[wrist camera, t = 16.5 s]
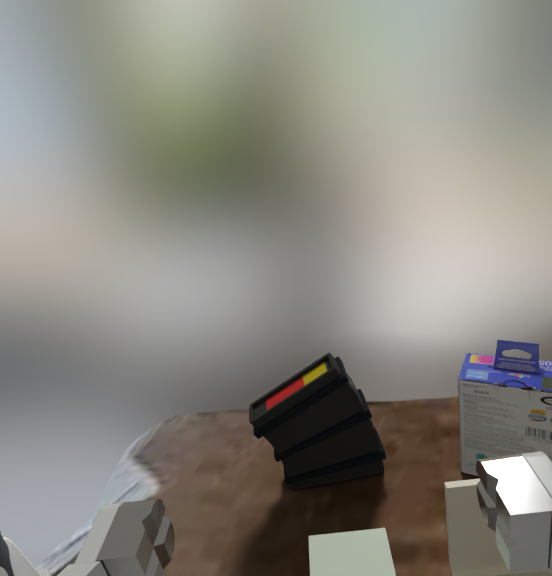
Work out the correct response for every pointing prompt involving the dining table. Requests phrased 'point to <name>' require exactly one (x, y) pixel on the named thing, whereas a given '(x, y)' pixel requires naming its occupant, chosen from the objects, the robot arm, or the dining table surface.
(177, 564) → the dining table surface
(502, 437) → the ink cartridge box
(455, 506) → the carton
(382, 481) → the dining table surface
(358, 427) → the magazine
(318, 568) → the box
